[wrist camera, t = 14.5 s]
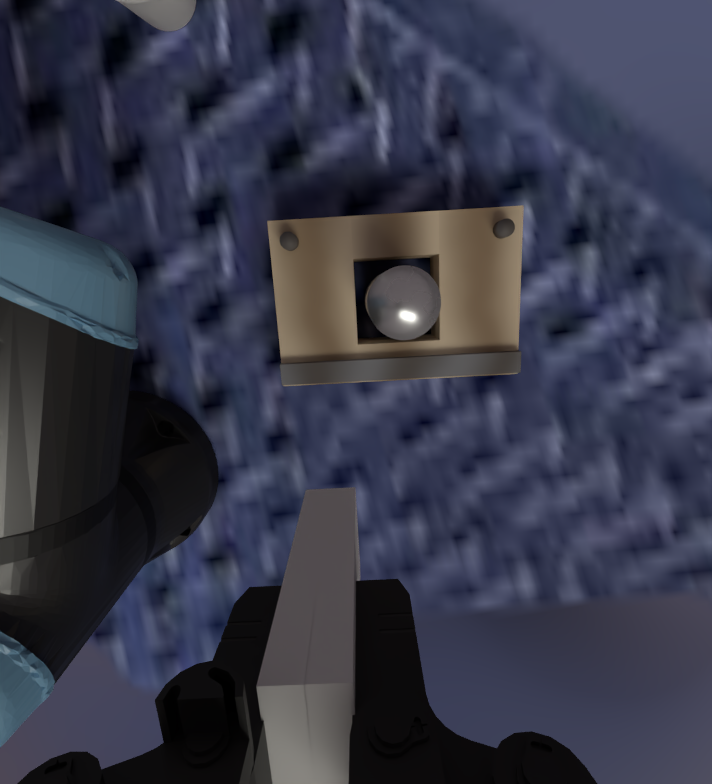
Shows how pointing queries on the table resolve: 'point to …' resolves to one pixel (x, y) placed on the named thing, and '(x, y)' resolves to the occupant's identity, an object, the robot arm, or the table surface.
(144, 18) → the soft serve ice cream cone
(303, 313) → the plate
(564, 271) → the table surface
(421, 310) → the grey metal peg
